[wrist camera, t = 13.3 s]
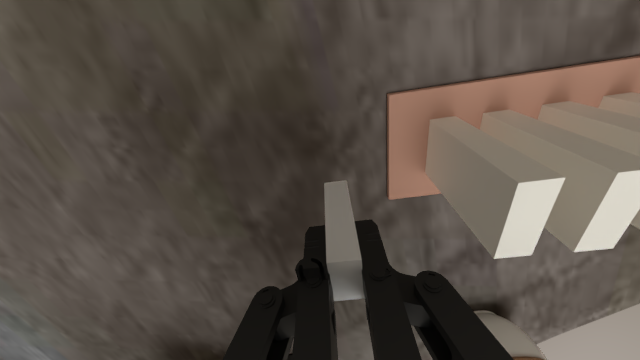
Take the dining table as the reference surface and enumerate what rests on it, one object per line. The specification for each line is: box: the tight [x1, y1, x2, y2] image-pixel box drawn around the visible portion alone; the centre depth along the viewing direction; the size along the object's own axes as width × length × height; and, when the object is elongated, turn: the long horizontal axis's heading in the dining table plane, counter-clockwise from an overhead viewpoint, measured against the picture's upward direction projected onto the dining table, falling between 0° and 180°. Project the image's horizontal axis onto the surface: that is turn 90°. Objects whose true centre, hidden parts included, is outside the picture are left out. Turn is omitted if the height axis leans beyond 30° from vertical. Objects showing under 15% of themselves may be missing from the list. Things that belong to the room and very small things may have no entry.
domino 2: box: [480, 110, 640, 252], centre depth 16 cm, size 2×5×10 cm, turn 8°
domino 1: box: [425, 116, 566, 259], centre depth 16 cm, size 2×5×10 cm, turn 8°
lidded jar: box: [474, 310, 547, 360], centre depth 31 cm, size 11×11×9 cm
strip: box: [387, 56, 640, 200], centre depth 20 cm, size 28×10×1 cm, turn 98°
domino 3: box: [538, 101, 640, 229], centre depth 16 cm, size 2×5×10 cm, turn 9°
